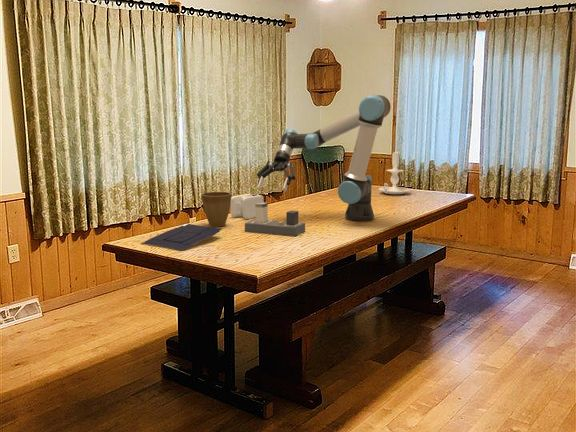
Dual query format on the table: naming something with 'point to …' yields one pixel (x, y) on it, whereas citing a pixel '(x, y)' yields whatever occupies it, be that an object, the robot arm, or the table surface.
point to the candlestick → (394, 179)
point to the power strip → (278, 226)
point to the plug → (261, 212)
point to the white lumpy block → (245, 205)
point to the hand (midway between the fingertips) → (271, 189)
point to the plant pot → (216, 207)
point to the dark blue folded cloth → (182, 237)
